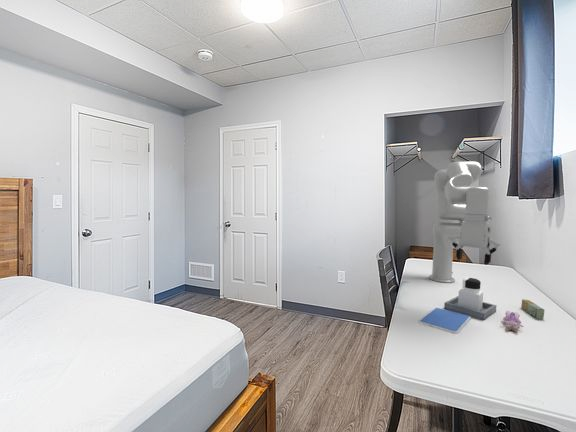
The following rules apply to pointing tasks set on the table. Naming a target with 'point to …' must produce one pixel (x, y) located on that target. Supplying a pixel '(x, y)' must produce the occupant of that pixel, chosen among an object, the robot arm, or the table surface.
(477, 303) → the medicine bottle
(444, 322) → the blue flat pad
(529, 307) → the medication box
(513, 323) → the rabbit figure
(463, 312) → the tray
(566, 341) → the table surface
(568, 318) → the table surface
